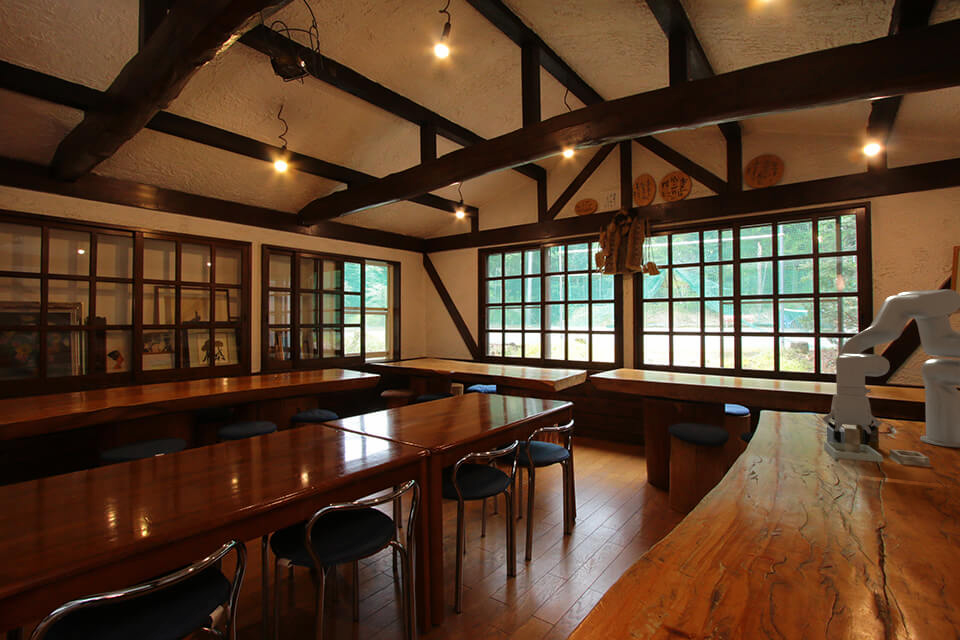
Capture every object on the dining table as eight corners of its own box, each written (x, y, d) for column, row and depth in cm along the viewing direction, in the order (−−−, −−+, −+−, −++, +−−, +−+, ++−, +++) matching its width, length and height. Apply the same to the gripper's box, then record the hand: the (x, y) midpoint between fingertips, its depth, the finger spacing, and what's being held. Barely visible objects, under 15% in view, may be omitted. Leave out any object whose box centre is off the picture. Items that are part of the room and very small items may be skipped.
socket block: (919, 462, 143) (919, 451, 143) (931, 470, 136) (931, 458, 136) (887, 459, 147) (887, 448, 147) (898, 466, 139) (898, 455, 139)
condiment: (878, 449, 157) (878, 416, 157) (883, 455, 150) (882, 421, 150) (852, 446, 162) (851, 414, 162) (855, 452, 155) (855, 418, 155)
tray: (868, 453, 153) (867, 445, 153) (882, 465, 141) (882, 455, 141) (824, 449, 158) (824, 441, 158) (835, 460, 147) (834, 451, 147)
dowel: (857, 454, 150) (857, 428, 150) (862, 457, 147) (861, 431, 147) (843, 453, 152) (842, 427, 152) (847, 456, 148) (846, 430, 148)
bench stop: (840, 445, 162) (840, 427, 162) (846, 451, 156) (846, 431, 156) (827, 444, 164) (826, 426, 164) (832, 450, 157) (832, 430, 157)
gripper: (878, 390, 149) (879, 442, 149) (816, 388, 157) (817, 437, 157) (888, 394, 142) (889, 448, 142) (822, 391, 150) (823, 443, 150)
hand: (851, 442), depth 150 cm, fingers open, 6 cm apart
